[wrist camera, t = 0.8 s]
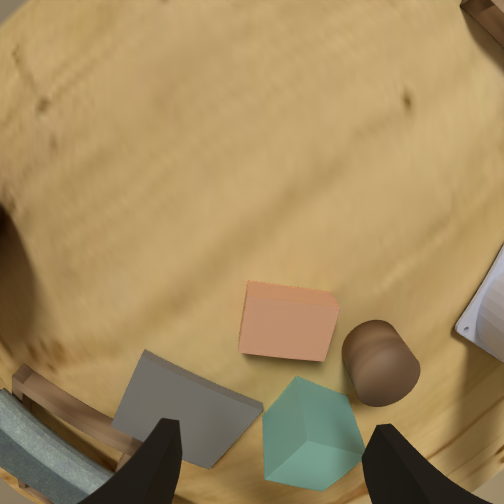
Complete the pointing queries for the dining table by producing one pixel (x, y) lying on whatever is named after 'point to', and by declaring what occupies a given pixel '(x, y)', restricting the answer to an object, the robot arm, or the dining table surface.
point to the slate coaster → (184, 409)
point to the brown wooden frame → (69, 416)
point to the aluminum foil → (45, 456)
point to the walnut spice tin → (379, 363)
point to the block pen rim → (487, 16)
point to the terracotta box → (287, 321)
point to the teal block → (310, 437)
